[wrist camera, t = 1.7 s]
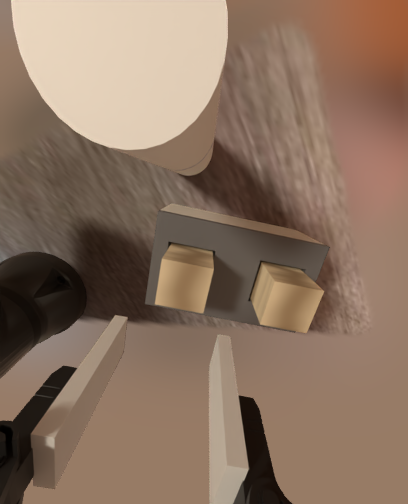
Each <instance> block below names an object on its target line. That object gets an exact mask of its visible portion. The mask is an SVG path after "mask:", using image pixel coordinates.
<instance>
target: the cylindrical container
mask: <svg viewBox="0 0 408 504" xmlns="http://www.w3.org/2000/svg"><path fill="white" fill-rule="evenodd" d="M11 4H12V14H13V24H14V30H15V34H16V39H17V42H18V46H19V51H20V54H21V56H22V59H23V61H24V64H25V66H26V69H27V71H28V73H29V76H30V78H31V80H32V81H33V83H34V84H35V86H36V88H37V90H38V91H39V93H40V95H41V96H42V98H43V99H44V100H45V102H46V103H47V104H48V105H49V106H50V108H51V109H52V110H53V111H54V112H55V113H56V115H57V116H58V117H59V118H60V119H61V120H63V121H64V122H65V123H66V124H67V125H68V126H70V127H71V128H72V129H73V130H74V131H76V132H77V133H79V134H81V135H83V136H84V137H86V138H88V139H89V140H91V141H93V142H96V143H98V144H101V145H104V146H106V147H109V148H112V149H114V150H117V151H120V152H122V153H125V154H128V155H130V156H133V157H136V158H138V159H141V160H144V161H146V162H149V163H152V164H154V165H157V166H160V167H162V168H165V169H168V170H170V171H173V172H176V173H178V174H181V175H186V176H192V175H196V174H198V173H200V172H202V171H203V170H204V169H205V168H206V167H207V166H208V164H209V162H210V160H211V157H212V152H213V144H214V137H215V130H216V122H217V114H218V106H219V99H220V92H221V84H222V77H223V69H224V62H225V54H226V47H227V39H228V29H227V28H228V27H227V26H228V25H227V23H228V19H227V6H226V0H11Z"/></svg>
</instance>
